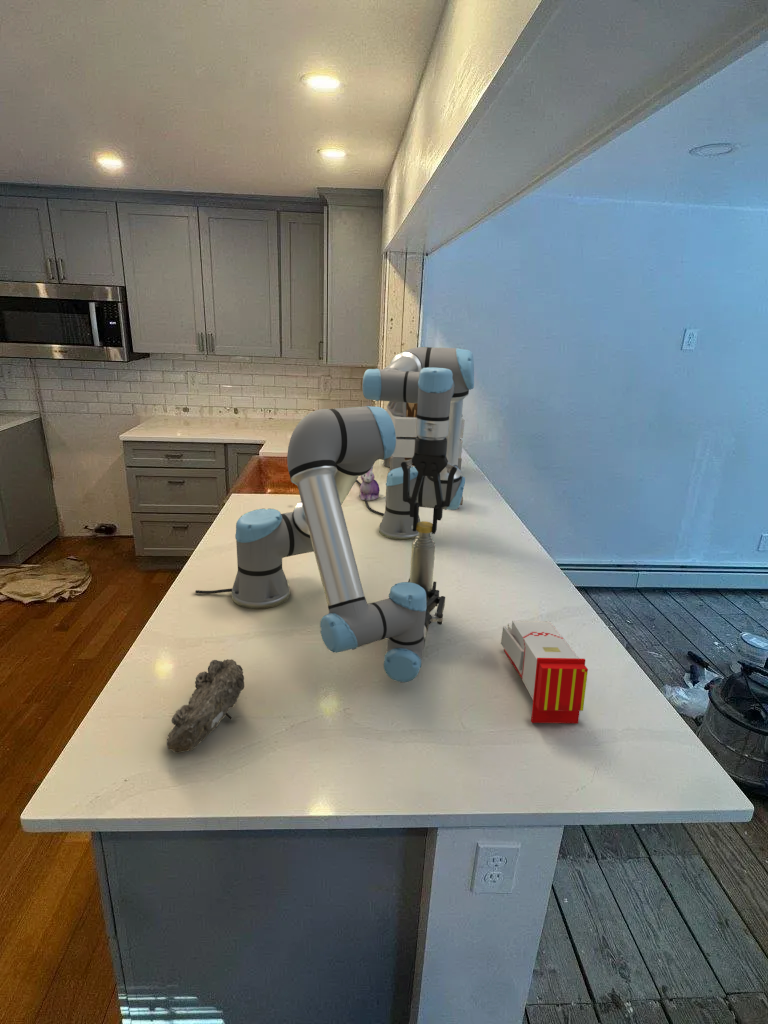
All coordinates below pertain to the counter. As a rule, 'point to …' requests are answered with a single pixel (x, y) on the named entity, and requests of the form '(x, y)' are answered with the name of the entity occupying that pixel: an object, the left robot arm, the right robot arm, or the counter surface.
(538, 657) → the toy
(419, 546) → the bottle
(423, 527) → the cap
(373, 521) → the counter surface
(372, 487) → the figurine
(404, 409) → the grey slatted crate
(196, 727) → the fossil
